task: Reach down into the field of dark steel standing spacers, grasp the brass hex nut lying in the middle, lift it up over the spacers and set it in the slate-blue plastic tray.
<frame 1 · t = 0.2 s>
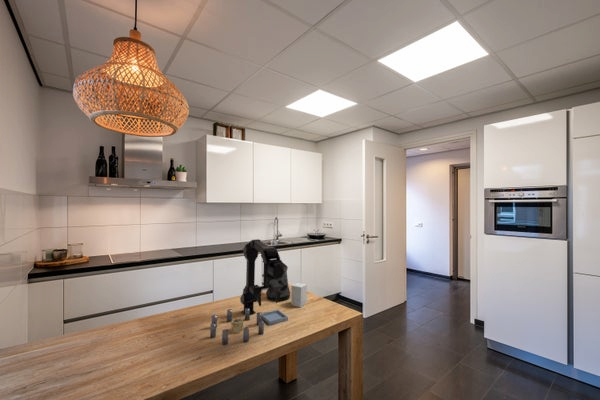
hand: (268, 304, 132), 14 cm above the table, fingers open, 9 cm apart
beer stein: (276, 297, 182), on the table
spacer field: (237, 330, 135), on the table
supplement box: (298, 304, 169), on the table
tray: (274, 318, 148), on the table
brass nut: (237, 325, 135), in the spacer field
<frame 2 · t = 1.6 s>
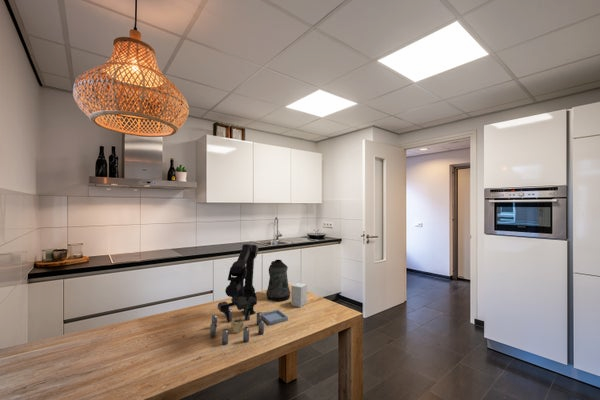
hand: (237, 320, 135), 5 cm above the table, fingers open, 9 cm apart
nothing on the table moved.
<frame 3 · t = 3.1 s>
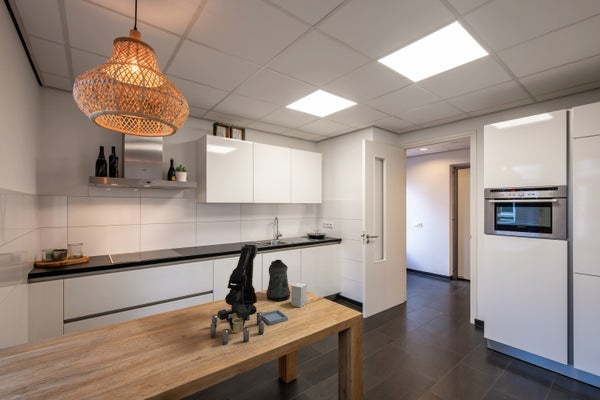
hand: (237, 328, 135), 1 cm above the table, fingers closed on brass nut, 5 cm apart
brass nut: (237, 325, 135), in the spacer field, touching gripper
everything else where it was.
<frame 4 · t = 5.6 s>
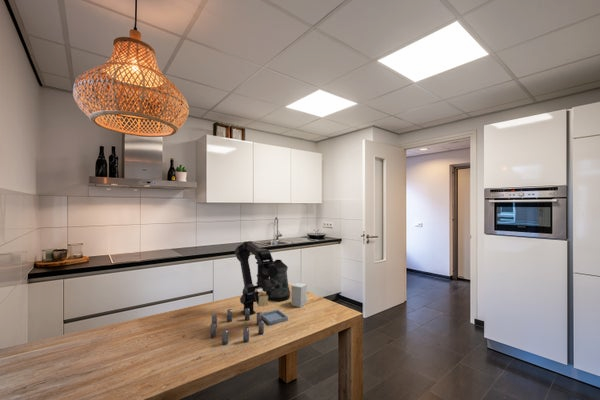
hand: (262, 302, 143), 11 cm above the table, fingers closed on brass nut, 5 cm apart
brass nut: (262, 299, 143), point 12 cm above the table, touching gripper
everything else where it was.
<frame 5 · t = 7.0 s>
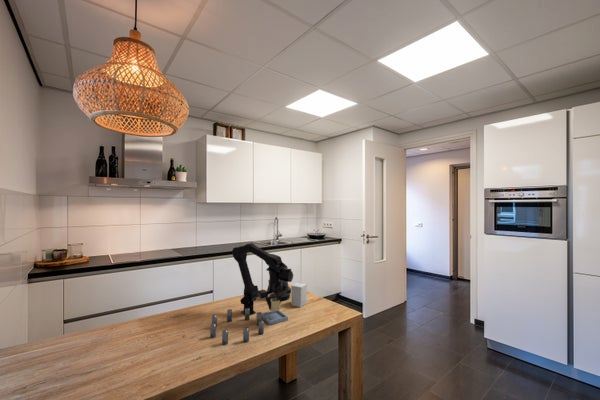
hand: (274, 307, 148), 7 cm above the table, fingers closed on brass nut, 5 cm apart
brass nut: (274, 304, 148), point 8 cm above the table, touching gripper
everything else where it was.
when the fingers open (3 cm above the table, at t = 8.4 s): brass nut drops 2 cm, resting on tray.
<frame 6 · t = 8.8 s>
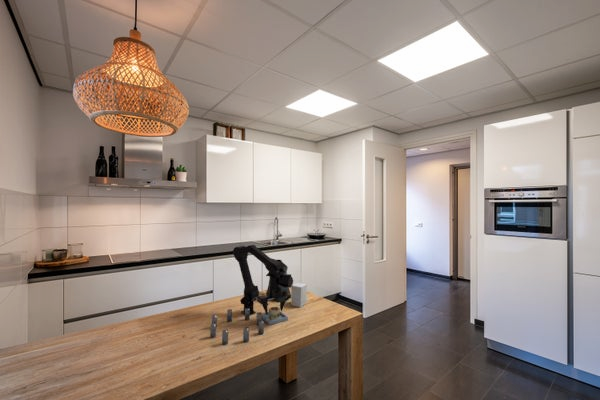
hand: (274, 312, 148), 3 cm above the table, fingers open, 9 cm apart
brass nut: (274, 313, 148), in the tray, point 3 cm above the table
everything else where it was.
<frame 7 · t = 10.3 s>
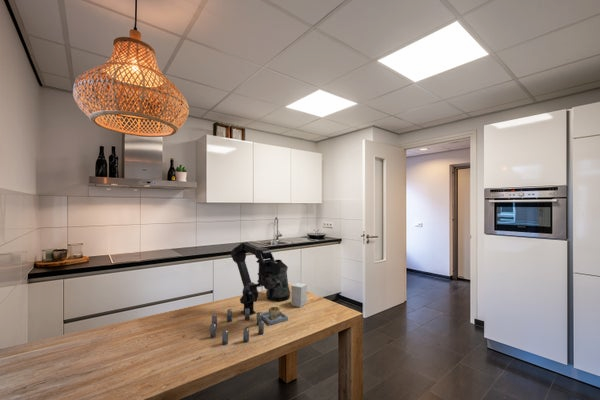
hand: (263, 300, 147), 11 cm above the table, fingers open, 9 cm apart
nothing on the table moved.
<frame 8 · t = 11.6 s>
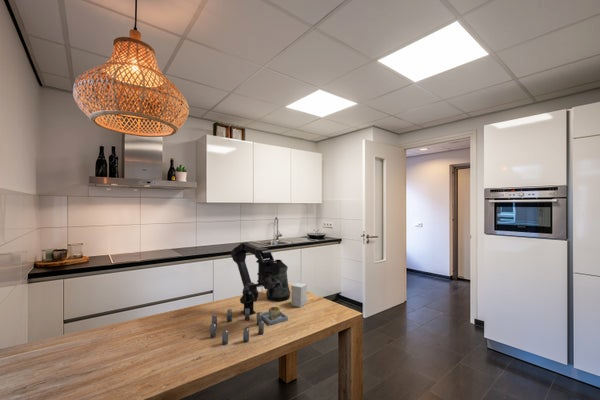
hand: (263, 300, 147), 11 cm above the table, fingers open, 9 cm apart
nothing on the table moved.
at the end: brass nut 0.1 cm off-centre on the tray, point 3.1 cm above the tray's base; the gripper is holding nothing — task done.
